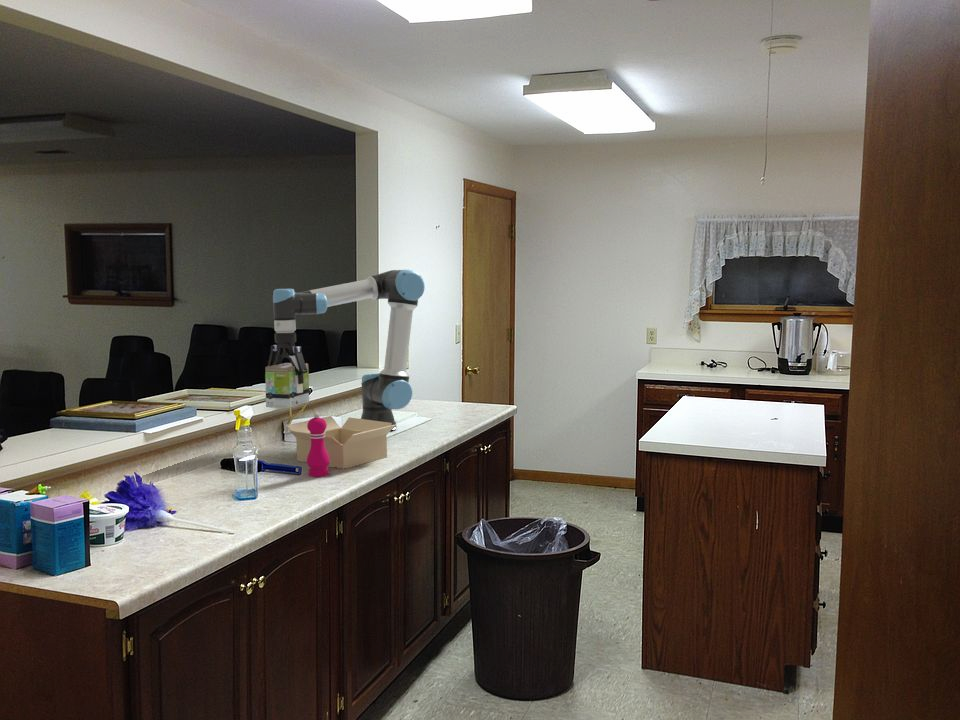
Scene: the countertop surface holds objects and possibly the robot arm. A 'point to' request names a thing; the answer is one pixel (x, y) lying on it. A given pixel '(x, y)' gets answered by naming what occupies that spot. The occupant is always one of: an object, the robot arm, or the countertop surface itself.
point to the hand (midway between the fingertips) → (287, 391)
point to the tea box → (284, 386)
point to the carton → (346, 441)
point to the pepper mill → (317, 448)
